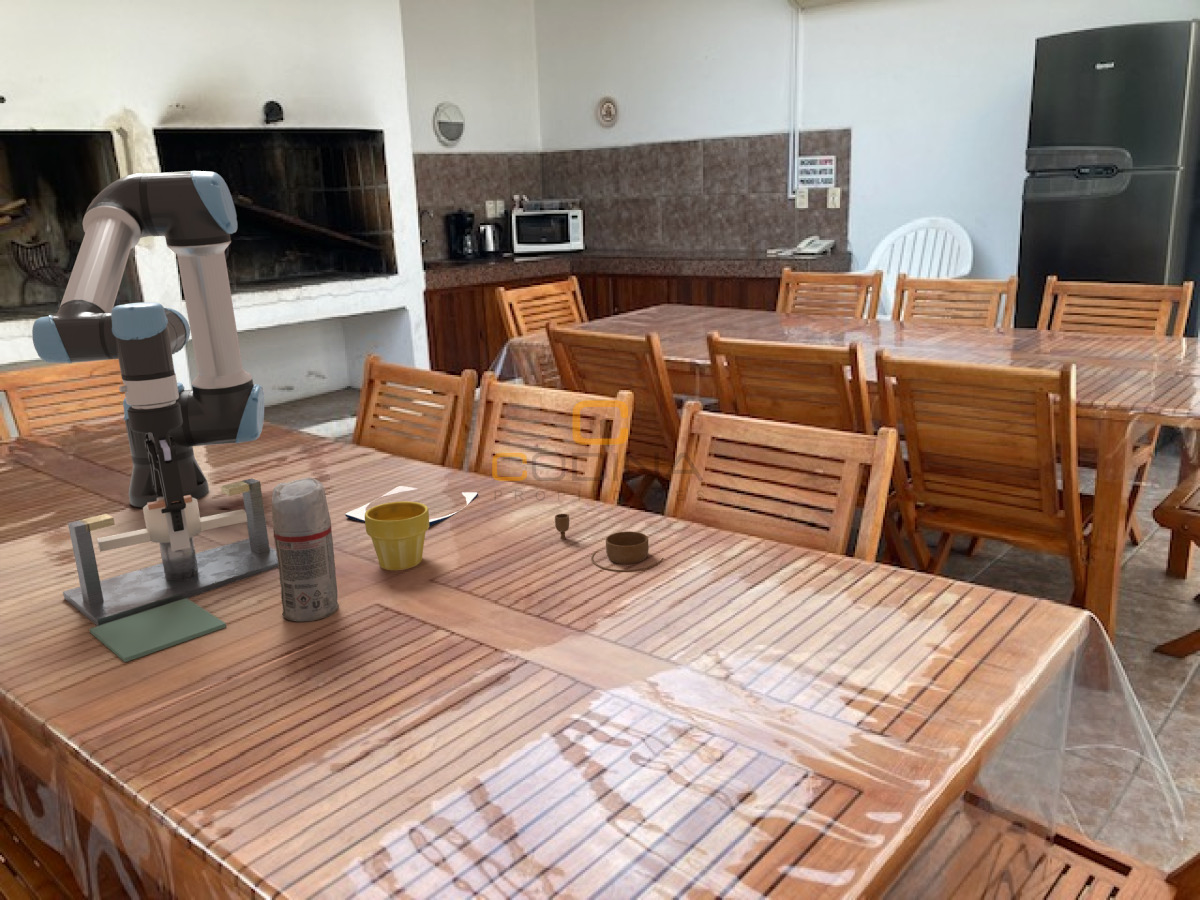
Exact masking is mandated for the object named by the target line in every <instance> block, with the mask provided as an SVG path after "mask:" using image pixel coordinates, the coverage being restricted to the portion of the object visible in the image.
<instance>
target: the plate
mask: <svg viewBox="0 0 1200 900" xmlns="http://www.w3.org/2000/svg"><path fill="white" fill-rule="evenodd" d="M414 490H418V488H416V487H410V486H405V485H399V486H397V487H394V488H392V490H390V491H388V492H386V493H384V494H383V495H381V496H380V498H382V497H386V496H390V495H395V494H397V493H398V494H399V493H403V492H409V491H414ZM461 494H462V496H463V497H465V500H466V506H464V507H462V508H461V509H460V510H458V511H455V512H453V513H450V514H447V515H444V516H440V517H436V518H431V519H430V518H429V527H431V526H433V525H436V524H439V523H440V522H443V521H444V520H447V519H449V518H451V517H452V516H454V515H456V514H457V513H459V512H460V511H461V510H463V509H464V508H465V507H467V506H468V505H469V504H471V503H472V502H473V501H474V500H475V499H476V498H477V497H478V495H479V494H478V492H463V491H462V492H461ZM378 499H379V497H378V498H375V499H374V500H373V501H372V502H374V501H376V500H378ZM369 504H370V502H367V503H366V504H364V505H362V506H360V507H356V508H355V509H352V510H350V511H348V512H346V513H345V514H344V516H345V517H346V518H348V519H349V520H352V521H356V522H357V521H358V522H361V523H364V524H365V512H366V511H367V510H366V509H367V508H368V506H369Z"/></svg>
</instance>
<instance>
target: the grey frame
mask: <svg viewBox="0 0 1200 900" xmlns="http://www.w3.org/2000/svg"><path fill="white" fill-rule="evenodd" d="M220 489H221V490H220V491H221V494H223V495H226V496H228V497H232V496H235V495H240V494H242V499H243V506H244V511H245V512H246V515H247V522H246V526H247V532H248V538H245V539H242V540H241V539H240V540H239V541H235V542H231V543H228V544H225V545H221V546H217V547H212V548H211V549H206V550H203V551H200V552H196V548H195V543H194V542H195V541H194V537H191V538H189V541H190V547H191V548H186V549H182V550H177V551H172V550H171V544H170V542H168V543H158V544H159V549H160V554H161V555H160V556H161V561H162V562H161V563H158V564H154V565H151V566H148V567H143V568H139V569H137V570H134V571H130V572H127V573H123V574H120V575H116V576H112V577H109V578H105V579H102V580H100V575H99V574H100V573H99V569H98V564H97V560H96V559H97V558H96V555H95V549H94V544H93V539H92V533H91V532H92V531H97V530H100V529H104V528H108V527H112V526H115V525H116V524H115V519H114V516H112V515H110V514H108V513H103V514H99V515H96V516H91V517H86V518H84V519H83V518H82V519H78V520H75V521H71V522H67V525H68V531H69V535H70V540H71V541H70V542H71V545H72V551H73V556H74V561H75V565H76V571H77V574H78V575H77V576H78V581H79V586H77V587H74V588H70V589H68V590H64V591H62V594H63V599H64V600H65V601H67V603H69V604H70V605H72V607H74V608H75V609H76V610H78V612H80V613H81V615H84V616H85V617H86V618H87V619H88V620H89V621H90V622H91V623H93V624H94V625H95V626H96V627H97V626H100V625H103V624H106V623H109V622H112V621H116V620H119V619H122V618H125V617H128V616H131V615H134V614H138V613H141V612H144V611H147V610H150V609H153V608H157V607H160V606H163V605H166V604H169V603H172V602H175V601H179V600H182V599H185V598H187V599H190V598H192V597H196V596H198V595H201V594H204V593H207V592H210V591H213V590H215V589H218V588H219V589H220V588H222V587H224V586H227V585H228V586H229V585H230V584H233V583H237V582H239V581H243V580H245V579H249V578H250V577H254V576H257V575H259V574H263V573H265V572H268V571H271V570H275V569H277V568H278V559H277V555H276V548H272V547H271V546H270V544H269V543H270V542H269V536H268V529H267V522H266V521H267V520H266V514H265V507H264V499H263V493H262V486H261V481H260V480H258V479H254V478H248V479H244V480H240V481H236V482H232V483H227V484H223V485H220ZM262 572H263V573H262Z"/></svg>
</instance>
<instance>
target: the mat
mask: <svg viewBox="0 0 1200 900" xmlns="http://www.w3.org/2000/svg"><path fill="white" fill-rule="evenodd" d="M224 628H227V623H226V622H224V621H223V620H221V619H220V618H219V617H217V616H216V615H213V613H211V612H209V611H208V610H206V609H204V608H203V607H201V606H200V605H198V604H197V603H195V602H194V601H192V600H190V598H185V599H182V600H179V601H175V602H172V603H169V604H166V605H163V606H160V607H157V608H153V609H150V610H147V611H144V612H141V613H138V614H134V615H131V616H128V617H125V618H122V619H119V620H116V621H112V622H109V623H106V624H103V625H100V626H97V625H96V626H94V627H91V628H89V633H90V634H91V635H93V636H94V637H95V638H96V639H97V640H98V641H99V642H101V643H102V644H103V645H104V646H105V647H106V648H107V649H109V650H110V651H111V652H112V653H113V654H115V655H116V656H117V657H118V658H119V659H120V660H122V661H123V662H124V663H127V662H130V661H133V660H135V659H139V658H142V657H144V656H147V655H150V654H153V653H155V652H159V651H162V650H164V649H168V648H170V647H173V646H176V645H178V644H182V643H184V642H187V641H191V640H194V639H197V638H199V637H202V636H205V635H207V634H211V633H214V632H216V631H220V630H222V629H224Z"/></svg>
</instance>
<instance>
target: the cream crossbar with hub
mask: <svg viewBox="0 0 1200 900" xmlns="http://www.w3.org/2000/svg"><path fill="white" fill-rule="evenodd" d="M184 501H185V503H186V508H184V510H185V516H186V522H187V529H188V535H189V538H191V537H193V538H194V537H196V536H197V535H199V534H201V533H202V531H203V532H204V531H206V530H213V529H217V528H221V527H227V526H231V525H237V524H241V523H247V515H246V512H245V509H244V508H242V509H237V510H232V511H227V512H221V513H217V514H213V515H211V514H210V515H207V516H202V517H200V516H201V515H200V510H199V503H198V499H195V498H192V497H191V495H186V496H184ZM176 502H179V501H176ZM172 503H174V502H172ZM165 507H166V506H165V501H164V499H162V500H158V501H154V502H149V503H147V505H146V506H144V507H143V508H142V512H143V518H144V522H145V527H146V528H142V529H137V530H132V531H126V532H121V533H117V534H111V535H107V536H102V537H97V538H96V542H97V545H98V549H99V552H100V553H101V552H104V551H111V550H115V549H120V548H126V547H130V546H135V545H139V544H144V543H145V544H146V543H149V542H151V543H156V544H159V543H168V542H170V538H169V532H168V526H167V521H166V515H165V513H163V514H162V512H161V510H162V509H165Z"/></svg>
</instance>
